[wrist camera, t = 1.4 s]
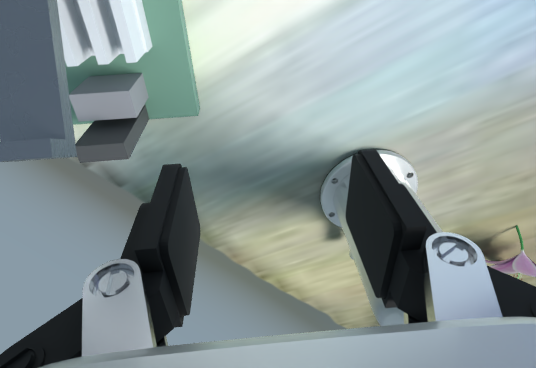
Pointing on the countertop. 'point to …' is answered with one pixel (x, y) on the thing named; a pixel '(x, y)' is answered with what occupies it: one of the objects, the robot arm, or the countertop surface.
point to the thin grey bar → (33, 83)
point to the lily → (516, 263)
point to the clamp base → (125, 70)
